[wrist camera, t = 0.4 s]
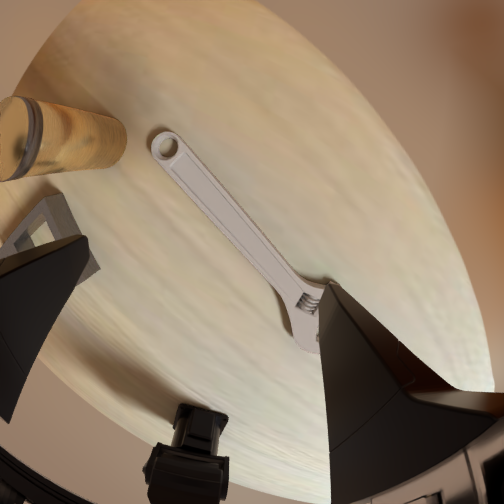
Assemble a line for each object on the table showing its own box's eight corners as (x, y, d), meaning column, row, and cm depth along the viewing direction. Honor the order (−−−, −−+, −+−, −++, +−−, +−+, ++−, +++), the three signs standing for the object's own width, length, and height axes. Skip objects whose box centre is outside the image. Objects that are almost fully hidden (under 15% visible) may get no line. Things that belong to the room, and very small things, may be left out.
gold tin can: (119, 174, 21) (15, 190, 9) (79, 163, 21) (-23, 175, 9) (134, 121, 20) (35, 95, 8) (92, 114, 19) (-7, 96, 8)
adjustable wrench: (150, 148, 21) (142, 147, 19) (208, 101, 20) (205, 96, 18) (308, 352, 27) (311, 362, 25) (361, 319, 26) (366, 328, 24)
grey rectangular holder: (41, 307, 26) (28, 318, 23) (10, 247, 24) (-5, 254, 21) (100, 268, 24) (85, 280, 21) (62, 193, 22) (43, 197, 19)
